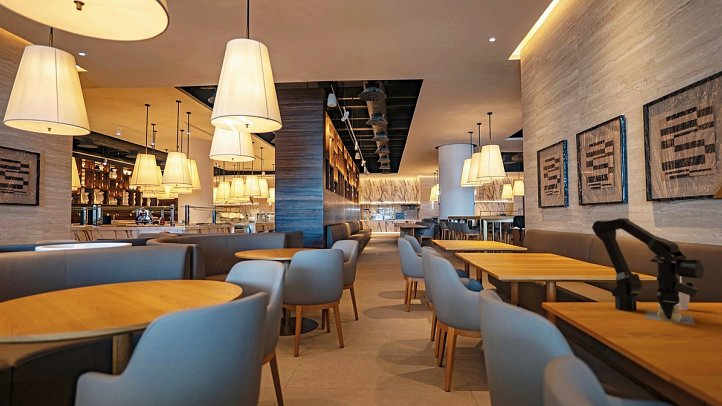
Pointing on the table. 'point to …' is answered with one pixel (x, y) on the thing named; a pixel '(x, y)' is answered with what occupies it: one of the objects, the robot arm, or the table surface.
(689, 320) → the board
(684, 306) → the smoothie
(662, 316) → the maple block
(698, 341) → the table surface
